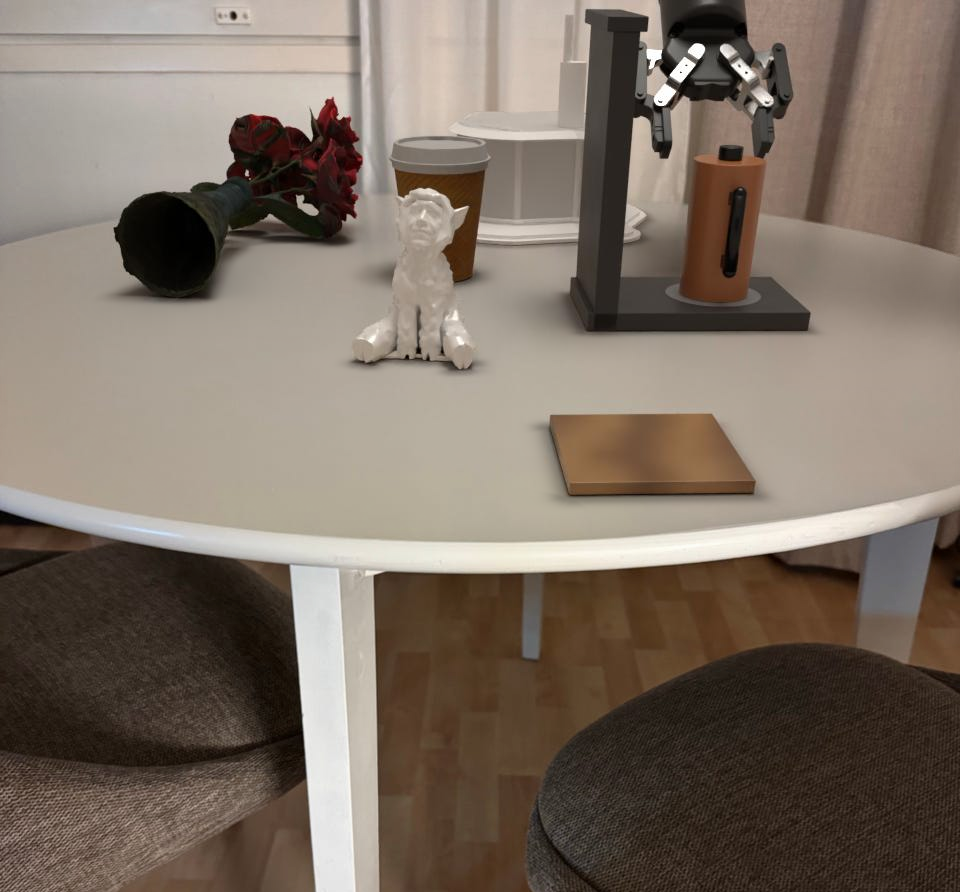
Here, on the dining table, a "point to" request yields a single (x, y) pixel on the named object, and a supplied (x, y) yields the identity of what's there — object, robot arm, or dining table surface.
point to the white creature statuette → (422, 289)
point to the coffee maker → (604, 210)
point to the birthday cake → (537, 166)
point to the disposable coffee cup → (446, 185)
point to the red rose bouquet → (243, 199)
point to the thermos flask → (721, 225)
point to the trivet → (647, 454)
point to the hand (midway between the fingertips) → (714, 153)
